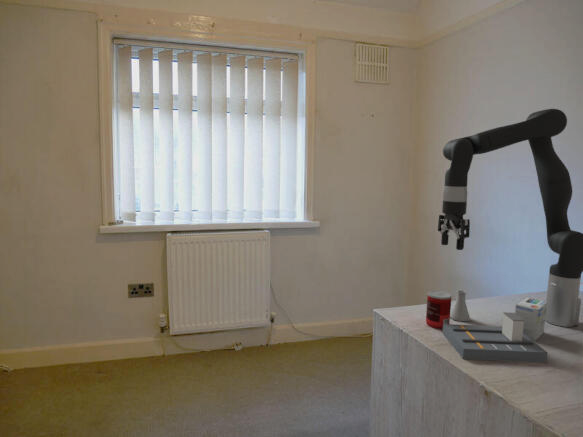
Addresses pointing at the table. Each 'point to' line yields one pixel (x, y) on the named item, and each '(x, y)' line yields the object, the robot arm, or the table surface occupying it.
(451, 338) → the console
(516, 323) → the tall grey rectangular block
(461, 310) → the flask
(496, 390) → the table surface
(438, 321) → the canned food
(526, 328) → the light bulb box
